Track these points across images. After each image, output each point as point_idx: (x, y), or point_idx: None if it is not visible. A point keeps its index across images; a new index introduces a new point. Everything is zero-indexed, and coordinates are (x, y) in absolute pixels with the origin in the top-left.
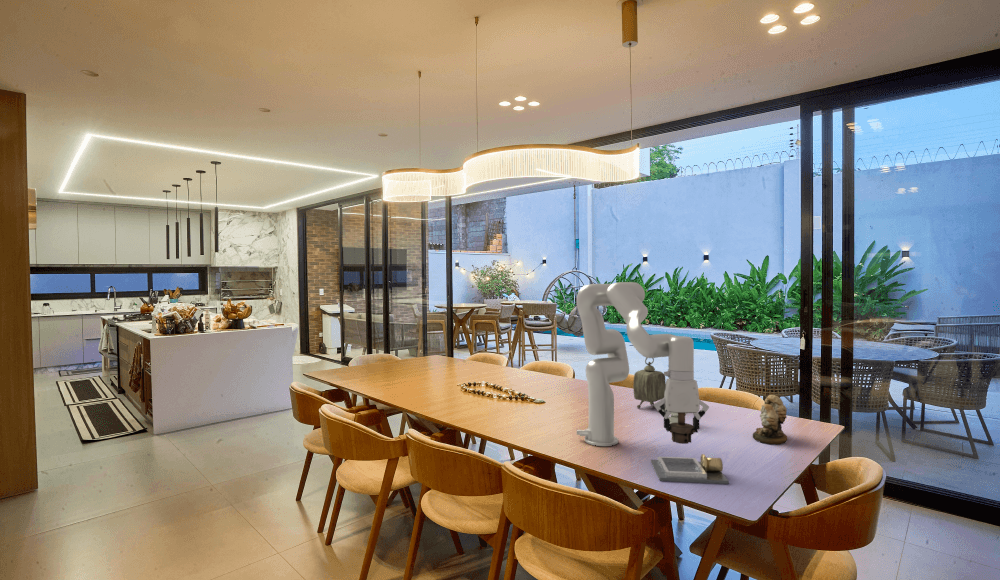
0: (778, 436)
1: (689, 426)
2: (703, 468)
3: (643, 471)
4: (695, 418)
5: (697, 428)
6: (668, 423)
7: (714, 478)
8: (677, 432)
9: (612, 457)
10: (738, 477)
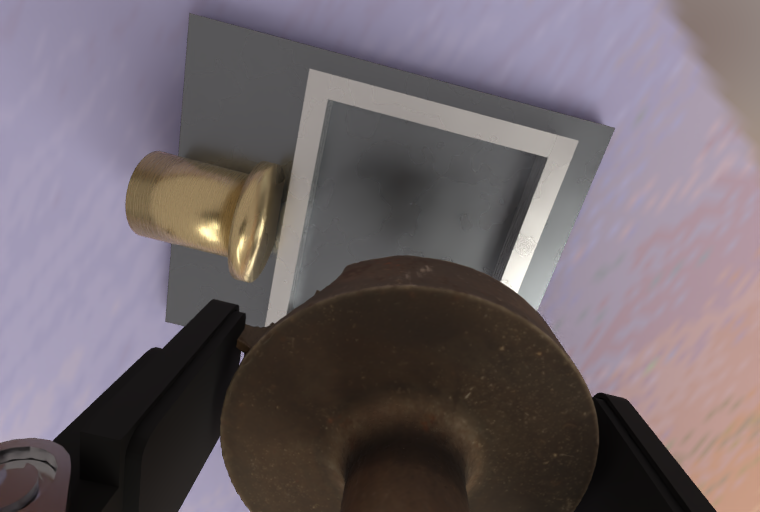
0: None
1: (299, 395)
2: (276, 202)
3: (608, 284)
4: (101, 505)
5: (191, 322)
6: (685, 493)
7: (265, 70)
8: (533, 310)
9: None
10: (100, 123)
